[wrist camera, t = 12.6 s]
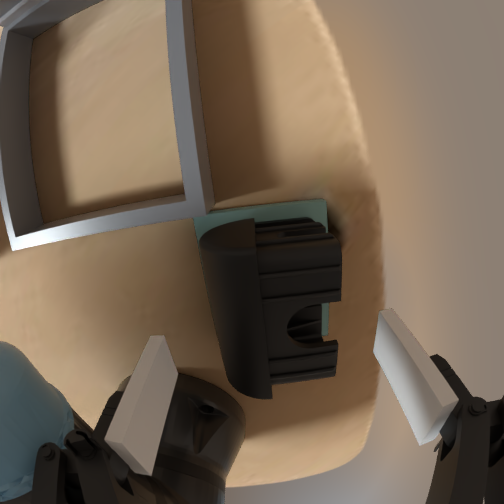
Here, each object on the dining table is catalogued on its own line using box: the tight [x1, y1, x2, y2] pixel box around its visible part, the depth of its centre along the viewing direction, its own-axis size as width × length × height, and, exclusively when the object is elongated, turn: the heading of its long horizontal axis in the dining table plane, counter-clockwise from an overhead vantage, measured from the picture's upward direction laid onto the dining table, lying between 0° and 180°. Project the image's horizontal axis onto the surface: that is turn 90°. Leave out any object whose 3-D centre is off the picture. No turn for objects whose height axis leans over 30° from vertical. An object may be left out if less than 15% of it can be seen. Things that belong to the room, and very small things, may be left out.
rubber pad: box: [193, 199, 329, 336], centre depth 21 cm, size 11×9×1 cm
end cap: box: [199, 217, 342, 399], centre depth 17 cm, size 10×7×7 cm
